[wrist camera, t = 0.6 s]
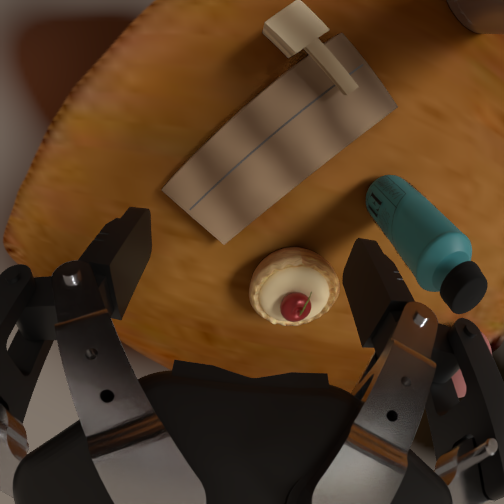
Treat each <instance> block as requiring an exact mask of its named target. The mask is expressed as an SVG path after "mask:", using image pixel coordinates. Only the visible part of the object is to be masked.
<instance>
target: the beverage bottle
mask: <svg viewBox="0 0 504 504" xmlns="http://www.w3.org/2000/svg"><path fill="white" fill-rule="evenodd" d="M404 180H405V179H404ZM404 180H403V179H402V178H400V177H398V176H394V175H385V176H382V177H380V178H378V179H376V180H375V181H374V182H373V183H372V184H371V185H370V187H369V189H368V191H367V194H366V205H367V208H366V209H367V210H368V211H369V212H368V211H367V212H368V213H370V214H371V215H370V216H372V217H373V218H374V220H375V223H376V222H377V224H378V225H379V226H380V228H381V230H382V231H383V233H384V235H386V236H387V237H388V239H389V240H390V242H391V243H392V244H393V246H394V247H395V249H396V250H397V252H398V253H399V255H400V257H402V260H403V261H404V262H405V264H406V265H407V266H408V267H409V269H410V270H411V271H412V273H413V274H414V276H415V278H416V280H417V282H418V284H419V285H420V286H421V287H422V288H423V289H425V290H427V291H432V292H438V291H440V295H441V297H442V299H443V301H444V302H445V303H446V304H447V305H448V306H449V308H450V309H451V310H452V311H453V312H454V313H456V314H463V313H466V312H468V311H470V310H471V309H473V308H474V307H475V306H476V305H477V304H478V303H479V302H480V301H481V300H482V298H483V297H484V295H485V293H486V290H487V280H486V278H485V277H484V275H483V274H482V272H481V270H480V268H479V267H478V266H477V264H476V263H475V262H473V261H471V256H472V247H471V243H470V240H469V239H468V237H467V236H466V235H465V234H463V233H462V232H461V231H460V230H459V229H458V228H457V227H456V226H455V225H454V224H453V223H451V222H450V221H449V220H448V219H447V218H446V217H445V216H444V215H443V214H442V213H441V212H440V211H439V210H438V209H436V208H435V207H434V205H433V204H431V203H430V202H429V201H428V200H427V199H426V198H425V197H426V196H425V195H424V196H425V197H424V196H423V195H421V194H420V193H419V192H420V191H419V190H415V189H414V188H415V187H414V186H413V185H409V184H410V183H409V182H408V183H409V184H408V183H407V182H406V180H405V181H404ZM412 186H413V187H414V188H413V187H412ZM373 218H372V219H373ZM374 220H373V221H374ZM377 224H376V225H377ZM378 225H377V226H378ZM380 228H379V229H380ZM387 237H386V238H387ZM397 252H396V253H397Z"/></svg>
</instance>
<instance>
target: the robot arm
mask: <svg viewBox="0 0 504 504" xmlns="http://www.w3.org/2000/svg"><path fill="white" fill-rule="evenodd" d="M447 2H448V4H449V7H450V8H451V10H452V12H453V13H454V15H455V16H456V17H457V19H458V20H459V21H460V22H461V23H462V24H463V25H464V26H465V27H466V28H468V29H469V30H471V31H473V32H475V33H481V34H504V0H447ZM151 249H152V239H151V215H150V210H149V209H146V208H136V207H129V208H128V210H127V211H126V212H125V213H124V215H123V216H122V217H121V218H116V219H114V220H112V221H111V222H109V223H107V224H106V225H105V226H104V227H103V229H102V230H101V231H100V234H98V235H97V236H96V237H95V240H93V241H92V243H91V244H90V245H89V246H88V248H87V249H86V250H85V252H84V253H83V254H82V256H81V257H80V258H79V260H78V261H70V262H66V263H64V264H62V265H60V266H59V267H58V268H57V269H56V270H55V271H54V272H53V274H52V276H50V277H36V278H33V275H32V272H31V269H30V268H29V267H28V266H26V265H22V264H19V265H14V266H11V267H9V268H7V269H6V270H5V271H4V272H2V274H1V275H0V491H2V492H4V493H5V494H7V495H9V496H11V497H12V498H14V501H15V504H489V503H491V502H493V501H496V500H498V499H500V498H503V497H504V382H503V380H502V378H501V375H500V373H499V370H498V368H497V366H496V363H495V361H494V359H493V357H492V354H491V352H490V350H489V348H488V346H487V344H486V342H485V340H484V338H483V336H482V334H481V332H480V330H479V329H478V327H477V326H476V325H475V324H474V323H473V322H471V321H470V320H468V319H465V318H459V319H457V321H456V322H455V323H454V325H453V326H452V327H448V326H445V325H442V324H439V323H438V320H437V317H436V315H435V314H434V312H433V311H432V310H431V309H430V308H428V307H427V306H426V305H424V304H422V303H419V302H415V301H414V299H413V297H412V295H411V293H410V291H409V289H408V287H407V286H406V284H405V282H404V280H402V279H403V278H402V276H401V275H400V273H399V271H398V269H397V267H396V266H395V264H394V262H392V261H391V260H390V259H389V258H388V257H387V256H386V255H385V254H384V253H383V252H382V250H381V248H380V247H379V245H378V243H377V242H376V241H374V240H368V239H362V238H358V239H357V240H356V241H355V243H354V245H353V248H352V250H351V253H350V256H349V258H348V261H347V263H346V266H345V268H344V272H343V286H344V289H345V292H346V295H347V298H348V301H349V304H350V308H351V311H352V314H353V317H354V321H355V324H356V327H357V331H358V334H359V338H360V341H361V345H362V347H369V348H374V349H375V352H374V354H373V355H372V356H371V358H370V360H369V362H368V364H367V366H366V367H365V369H364V371H363V373H362V375H361V377H360V378H359V380H358V382H357V384H356V385H355V387H354V389H353V390H352V392H351V393H349V392H347V391H345V390H343V389H341V388H338V387H336V386H333V385H329V382H328V376H327V374H324V373H293V372H292V373H286V374H280V375H274V376H268V377H261V378H249V377H246V376H243V375H240V374H236V373H233V372H230V371H227V370H225V369H222V368H219V367H216V366H213V365H206V364H199V363H192V362H185V361H179V360H174V365H173V369H172V371H163V372H157V373H153V374H150V375H147V376H144V377H142V378H140V379H137V377H136V375H135V373H134V371H133V369H132V366H131V364H130V362H129V360H128V358H127V356H126V353H125V351H124V349H123V347H122V344H121V342H120V340H119V337H118V335H117V332H116V330H115V327H114V325H113V322H112V320H111V318H114V319H118V320H122V317H123V315H124V313H125V310H126V308H127V306H128V304H129V301H130V299H131V297H132V295H133V292H134V290H135V288H136V286H137V284H138V282H139V279H140V277H141V275H142V273H143V271H144V269H145V267H146V265H147V263H148V261H149V258H150V255H151ZM15 324H16V325H17V327H18V328H19V329H18V331H17V333H16V335H15V337H14V339H13V341H12V343H11V345H10V347H9V349H8V351H7V348H6V344H7V339H8V337H9V335H10V333H11V331H12V330H13V328H14V326H15ZM54 340H57V343H58V347H59V352H60V356H61V360H62V364H63V368H64V372H65V375H66V379H67V383H68V386H69V390H70V393H71V396H72V399H73V402H74V405H75V408H76V411H77V414H78V417H79V420H78V421H77V422H75V423H74V424H72V425H71V426H69V427H68V428H66V429H65V430H63V431H62V432H60V433H59V434H58V435H56V436H55V437H53V438H51V439H50V440H48V441H47V442H45V443H44V444H43V445H41V446H39V447H38V448H36V449H35V450H33V451H32V452H30V453H29V454H27V452H28V450H29V444H28V442H27V435H26V431H25V428H24V426H23V421H24V417H25V414H26V411H27V408H28V405H29V402H30V399H31V396H32V393H33V391H34V388H35V385H36V382H37V380H38V377H39V375H40V372H41V369H42V367H43V365H44V362H45V360H46V357H47V355H48V353H49V350H50V348H51V346H52V343H53V341H54ZM459 369H460V370H461V373H462V375H463V378H464V381H465V384H466V394H465V396H464V398H463V399H462V400H461V401H460V402H459V399H458V396H457V393H456V389H455V386H454V383H453V381H452V378H451V377H452V376H453V375H454V374H455V373H456V372H457V371H458V370H459ZM424 408H426V412H427V417H428V421H429V425H430V430H431V434H432V439H433V445H434V449H435V455H436V461H437V463H436V466H435V470H434V471H433V470H432V469H431V468H430V467H429V466H427V465H426V464H425V463H424V462H423V461H422V460H421V459H420V458H419V457H418V456H417V455H416V454H415V453H414V452H413V451H412V450H411V449H410V446H411V444H412V441H413V439H414V436H415V433H416V431H417V428H418V425H419V423H420V420H421V417H422V414H423V411H424Z"/></svg>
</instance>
